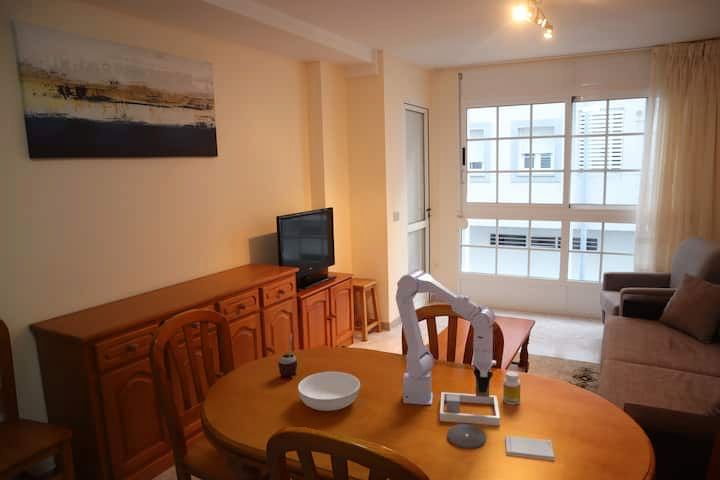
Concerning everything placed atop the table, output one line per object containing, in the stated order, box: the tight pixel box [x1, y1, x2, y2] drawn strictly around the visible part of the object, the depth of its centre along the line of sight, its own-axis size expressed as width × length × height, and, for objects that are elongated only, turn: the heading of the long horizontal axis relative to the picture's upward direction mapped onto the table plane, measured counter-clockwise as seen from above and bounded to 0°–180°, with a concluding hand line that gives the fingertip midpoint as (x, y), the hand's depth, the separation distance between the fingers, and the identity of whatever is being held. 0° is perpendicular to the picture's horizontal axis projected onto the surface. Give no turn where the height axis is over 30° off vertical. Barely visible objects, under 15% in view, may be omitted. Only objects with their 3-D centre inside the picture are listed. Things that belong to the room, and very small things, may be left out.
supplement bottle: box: [502, 370, 521, 406], centre depth 163 cm, size 5×5×10 cm
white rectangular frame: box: [439, 391, 501, 426], centre depth 157 cm, size 18×14×2 cm
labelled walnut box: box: [475, 378, 491, 397], centre depth 154 cm, size 4×4×6 cm
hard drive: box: [505, 435, 556, 461], centre depth 137 cm, size 2×8×12 cm
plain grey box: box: [446, 394, 461, 413], centre depth 156 cm, size 4×4×6 cm
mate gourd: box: [278, 333, 298, 380], centre depth 186 cm, size 8×8×15 cm
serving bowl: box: [297, 371, 361, 412], centre depth 165 cm, size 21×21×7 cm
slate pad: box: [446, 423, 487, 450], centre depth 143 cm, size 11×11×1 cm
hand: (482, 388), depth 154 cm, fingers closed on labelled walnut box, 4 cm apart
